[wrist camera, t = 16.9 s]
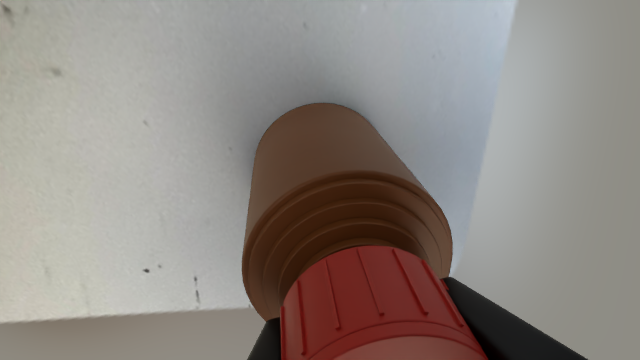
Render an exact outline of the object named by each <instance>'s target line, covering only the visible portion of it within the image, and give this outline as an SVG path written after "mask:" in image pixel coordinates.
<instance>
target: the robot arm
mask: <svg viewBox="0 0 640 360" xmlns="http://www.w3.org/2000/svg"><path fill="white" fill-rule="evenodd" d="M441 279H443V281H444V282H445V284H446V286H447V287H448V289H449V290H447V289H446V291H447V292H448V294H449V296H450V297H451V299H452V300H453V302H454V304H455V306H456V307H457V309H458V311H459V312H460V314H461V316H462V317H463V319H464V320H465V322H466V324H467V325H468V327H469V328H470V330H471V331H472V333H473V335H474V336H475V338H476V340H477V341H478V343H479V344H480V345H481V346H482V349H483V351H484V353H485V354H486V356H487V358H488V359H489V360H588V359H586V358H584V357H583V356H581V355H580V354H578V353H576V352H575V351H573V350H571V349H570V348H568V347H566V346H565V345H563V344H561V343H560V342H558V341H556V340H554V339H553V338H551V337H550V336H548V335H547V334H544V333H543V332H542V331H540V330H538V329H537V328H535V327H533V326H532V325H530V324H528V323H526V322H525V321H523V320H522V319H520V318H518V317H517V316H515V315H513V314H512V313H510V312H508V311H507V310H505V309H503V308H502V307H500V306H499V305H497V304H495V303H493V302H492V301H490V300H489V299H487V298H485V297H484V296H482V295H480V294H479V293H477V292H475V291H474V290H472V289H470V288H469V287H467V286H466V285H464V284H462V283H461V282H459V281H457V280H456V279H454V278H452V277H446V278H441ZM441 279H440V280H441ZM247 360H281V330H280V317H278V318H273V319H269V320H268V321H267V322H266V324H265V326H264V328H263V330H262V332H261V334H260V336H259V337H258V340H257V341H256V344H255V345H254V347H253V350H252V351H251V353H250V355H249V357H248V359H247Z"/></svg>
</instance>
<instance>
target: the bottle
mask: <svg viewBox="0 0 640 360" xmlns="http://www.w3.org/2000/svg"><path fill="white" fill-rule="evenodd" d="M372 245H377V246H389V247H394V248H398V249H401V250H404V251H407V252H409V253H411V254H414V255H416V256H417V257H419V258H420V259H422V260H423V259H424V260H425V261H426V262H427V264H428V265H429V266H430V267H431V268H432V269H433V270H434V272H435V273H436V274H437V276H438V278H439V279H441V278H446V277H448V276H449V273H450V267H451V261H452V236H451V230H450V227H449V224H448V221H447V219H446V217H445V215H444V213H443V211H442V209H441V208H440V207H439V205H438V204H437V203H436V202H435V200H434V199H433V198H432V197H431V195H430V194H429V193H428V192H427V191H426V189H425V188H424V187H423V186H422V185H421V183H420V182H419V181H418V180H417V179H416V177H415V176H414V175H413V174H412V173H411V171H410V170H409V169H408V168H407V167H406V165H405V164H404V163H403V162H402V161H401V159H400V158H399V157H398V156H397V155H396V153H395V152H394V151H393V150H392V149H391V147H390V146H389V145H388V144H387V143H386V141H385V140H384V139H383V138H382V137H381V135H380V134H379V133H378V132H377V131H376V129H375V128H374V127H373V126H372V125H371V124H370V123H369V122H368V121H367V120H366V119H365V118H364V117H363V116H361V115H360V114H359V113H357V112H355V111H353V110H352V109H349V108H347V107H344V106H341V105H336V104H330V103H314V104H308V105H304V106H301V107H298V108H295V109H293V110H291V111H289V112H287V113H285V114H284V115H282V116H281V117H280V118H278V119H277V120H276V121H275V122H274V123H273V124H272V125H271V126H270V127H269V128H268V129H267V131H266V132H265V133H264V135H263V136H262V138H261V140H260V142H259V144H258V147H257V150H256V154H255V159H254V167H253V175H252V183H251V191H250V199H249V207H248V216H247V224H246V232H245V240H244V248H243V256H242V277H243V283H244V287H245V290H246V293H247V295H248V297H249V299H250V302H251V303H252V305H253V306H254V308H255V309H256V311H257V312H258V313H259V315H260V316H261V317H262V318H263V319H264V320H265V321H266V322H267V321H268V320H269V319H273V318H278V317H280V307H281V306H283V303H284V299H285V297H286V295H287V293H288V291H289V290H290V288H291V287H292V285H293V284H294V282H295V281H296V280H297V279H298V278H299V277H300V276H301V274H302V273H304V272H305V271H306V270H307V269H308V268H309V267H311V266H312V265H314V264H315V263H317V262H318V261H320V260H321V259H323V258H325V257H327V256H329V255H331V254H334V253H336V252H339V251H342V250H346V249H349V248H354V247H360V246H372Z"/></svg>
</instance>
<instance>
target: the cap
mask: <svg viewBox="0 0 640 360" xmlns="http://www.w3.org/2000/svg"><path fill="white" fill-rule="evenodd" d="M446 289H447V290H449V289H448V287H447V286H446V284H445V282H444V281H443V279H441V280H440V279H439V278H438V276H437V274H436V273H435V272H434V270H433V269H432V268H431V267H430V266H429V265H428V264H427V262H426V261H425V260H424V259H423V260H422V259H420V258H419V257H417V256H416V255H414V254H411V253H409V252H407V251H404V250H401V249H398V248H394V247H389V246H377V245H372V246H360V247H354V248H349V249H346V250H342V251H339V252H336V253H334V254H331V255H329V256H327V257H325V258H323V259H321V260H320V261H318V262H317V263H315V264H314V265H312V266H311V267H309V268H308V269H307V270H306V271H305V272H304V273H302V274H301V276H300V277H299V278H298V279H297V280H296V281H295V282H294V284H293V285H292V287H291V288H290V290H289V291H288V293H287V295H286V297H285V299H284V303H283V306H281V307H280V330H281V360H489V359H488V358H487V356H486V354H485V353H484V351H483V349H482V346H481V345H480V344H479V343H478V341H477V340H476V338H475V336H474V335H473V333H472V331H471V330H470V328H469V327H468V325H467V324H466V322H465V320H464V319H463V317H462V316H461V314H460V312H459V311H458V309H457V307H456V306H455V304H454V302H453V300H452V299H451V297H450V296H449V294H448V292H447V291H446Z"/></svg>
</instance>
